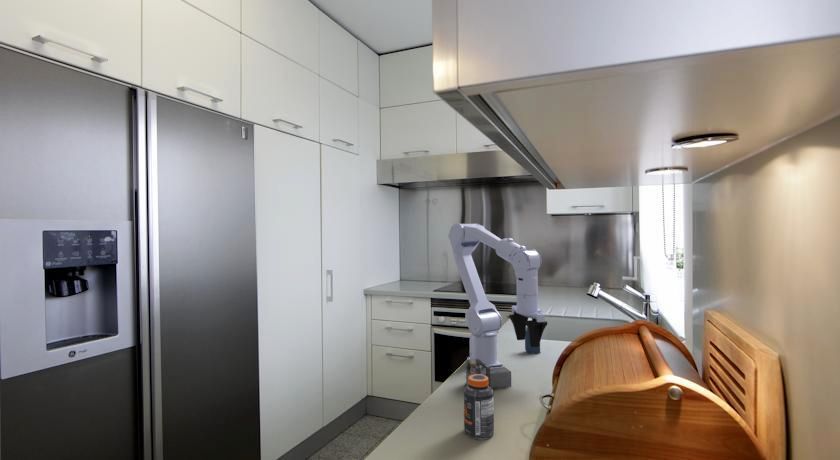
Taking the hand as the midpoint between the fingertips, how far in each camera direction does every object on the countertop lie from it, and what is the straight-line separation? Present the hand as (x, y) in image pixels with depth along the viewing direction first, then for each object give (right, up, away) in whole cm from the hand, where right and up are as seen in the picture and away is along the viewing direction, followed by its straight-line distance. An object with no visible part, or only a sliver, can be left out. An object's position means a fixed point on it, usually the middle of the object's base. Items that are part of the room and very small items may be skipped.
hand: (527, 343), depth 117 cm
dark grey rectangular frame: (-16, -10, -8) cm, 20 cm away
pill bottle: (-18, -10, -32) cm, 38 cm away
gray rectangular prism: (-12, -10, -6) cm, 17 cm away
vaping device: (+8, -10, +24) cm, 27 cm away
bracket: (-13, -10, -7) cm, 18 cm away
